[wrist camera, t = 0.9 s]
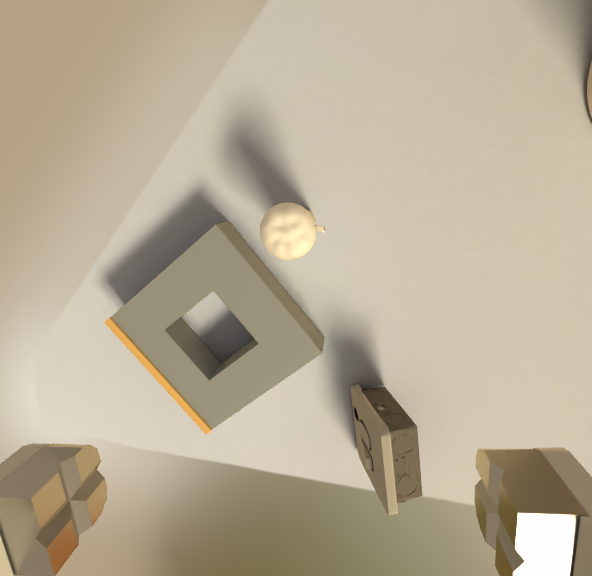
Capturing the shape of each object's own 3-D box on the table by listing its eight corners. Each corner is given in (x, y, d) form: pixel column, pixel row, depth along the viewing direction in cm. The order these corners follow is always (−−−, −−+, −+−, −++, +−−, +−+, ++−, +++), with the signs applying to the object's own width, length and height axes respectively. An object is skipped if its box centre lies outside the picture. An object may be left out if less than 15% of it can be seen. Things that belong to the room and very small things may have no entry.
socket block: (228, 220, 39) (214, 224, 35) (324, 337, 41) (322, 354, 36) (127, 309, 43) (104, 322, 39) (218, 411, 45) (205, 434, 41)
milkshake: (332, 241, 38) (328, 259, 28) (281, 247, 39) (259, 266, 29) (327, 195, 37) (321, 198, 27) (274, 203, 38) (250, 207, 28)
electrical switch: (349, 381, 42) (360, 433, 33) (396, 376, 41) (420, 427, 32) (357, 453, 44) (370, 521, 35) (402, 449, 44) (426, 515, 34)
